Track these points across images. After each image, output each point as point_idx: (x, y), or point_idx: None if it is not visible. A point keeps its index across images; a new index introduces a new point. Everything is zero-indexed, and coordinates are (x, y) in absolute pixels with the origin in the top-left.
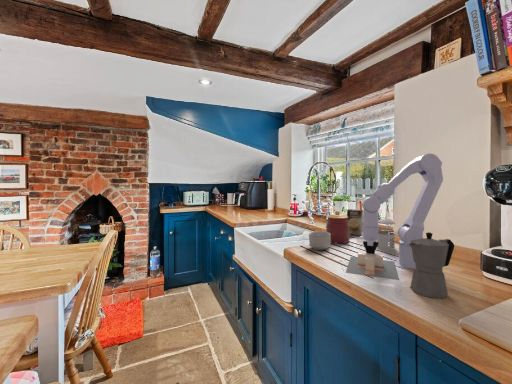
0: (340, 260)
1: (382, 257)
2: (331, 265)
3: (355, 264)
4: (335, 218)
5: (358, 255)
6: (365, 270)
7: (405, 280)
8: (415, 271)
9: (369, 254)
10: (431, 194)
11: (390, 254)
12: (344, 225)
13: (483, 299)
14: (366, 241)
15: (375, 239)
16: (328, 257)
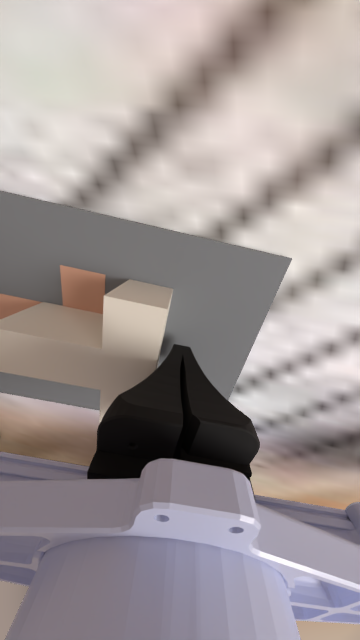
0: (208, 162)
1: (101, 416)
2: (48, 50)
3: (115, 263)
4: None
5: (108, 297)
6: (33, 299)
7: (18, 403)
8: None
9: (126, 371)
10: None
11: (330, 443)
12: None
13: None
14: (237, 454)
15: (16, 583)
16: (298, 14)
